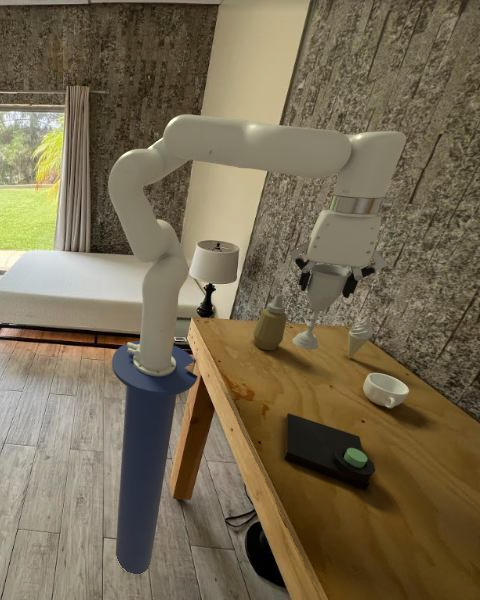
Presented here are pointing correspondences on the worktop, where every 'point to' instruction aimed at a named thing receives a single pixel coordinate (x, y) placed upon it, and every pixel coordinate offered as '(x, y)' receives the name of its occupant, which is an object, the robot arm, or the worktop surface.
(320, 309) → the chalice
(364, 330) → the ice cream cone
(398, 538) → the worktop surface
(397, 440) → the worktop surface
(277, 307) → the squeeze bottle
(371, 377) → the teacup
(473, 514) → the worktop surface
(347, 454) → the tare button
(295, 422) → the scale
